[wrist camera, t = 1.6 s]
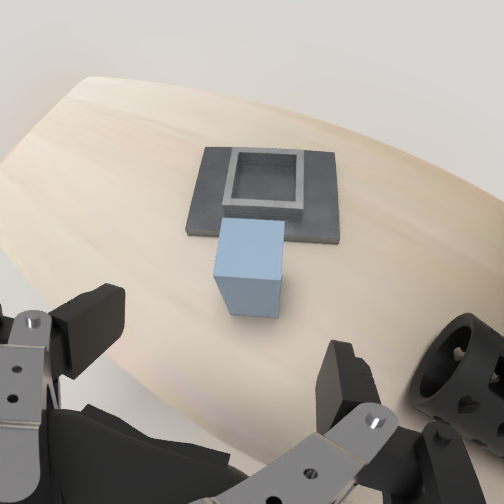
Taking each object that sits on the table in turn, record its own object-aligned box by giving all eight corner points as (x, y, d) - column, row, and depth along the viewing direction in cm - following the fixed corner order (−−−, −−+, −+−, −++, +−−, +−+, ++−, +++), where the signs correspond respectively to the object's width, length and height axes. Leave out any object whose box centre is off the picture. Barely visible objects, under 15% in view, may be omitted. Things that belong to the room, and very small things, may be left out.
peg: (281, 274, 32) (284, 221, 23) (278, 318, 30) (281, 280, 21) (236, 271, 32) (222, 217, 23) (230, 314, 30) (213, 275, 21)
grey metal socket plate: (333, 159, 38) (336, 141, 35) (337, 244, 33) (343, 228, 30) (206, 153, 39) (202, 135, 37) (187, 235, 34) (180, 219, 31)
